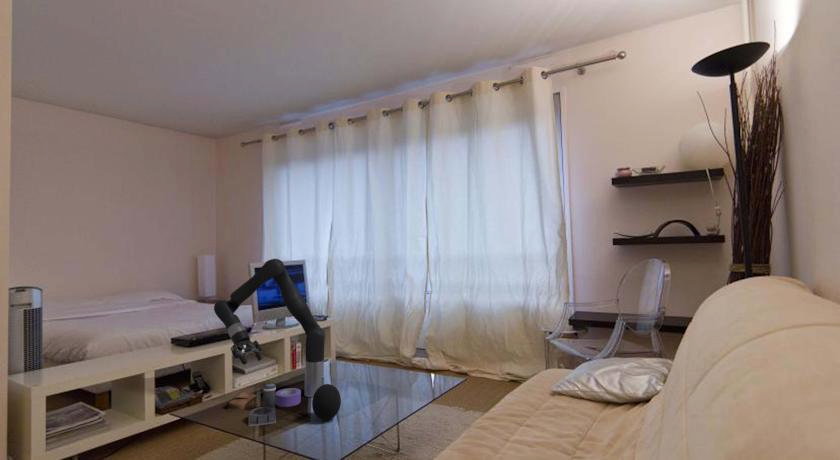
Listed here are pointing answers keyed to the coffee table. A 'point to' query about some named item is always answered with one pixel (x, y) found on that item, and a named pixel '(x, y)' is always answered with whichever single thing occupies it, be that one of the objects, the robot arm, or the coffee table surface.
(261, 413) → the mount
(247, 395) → the sunglasses case
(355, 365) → the coffee table surface
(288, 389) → the tape roll
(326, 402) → the decorative egg
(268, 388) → the lens
